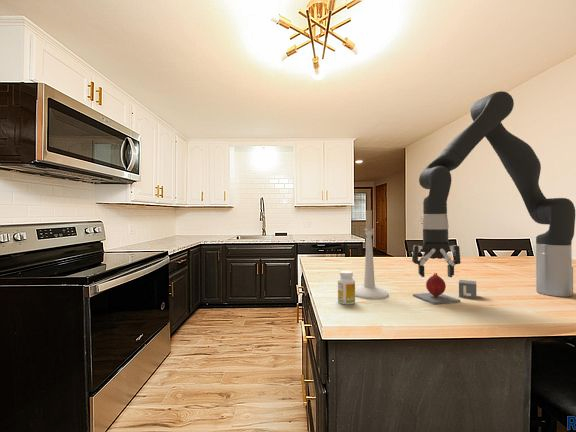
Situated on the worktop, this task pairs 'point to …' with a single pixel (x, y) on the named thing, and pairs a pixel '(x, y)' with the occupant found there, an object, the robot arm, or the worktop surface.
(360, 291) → the candlestick
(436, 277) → the onion
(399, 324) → the worktop surface
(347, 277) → the supplement bottle
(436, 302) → the mat
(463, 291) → the marked cube
